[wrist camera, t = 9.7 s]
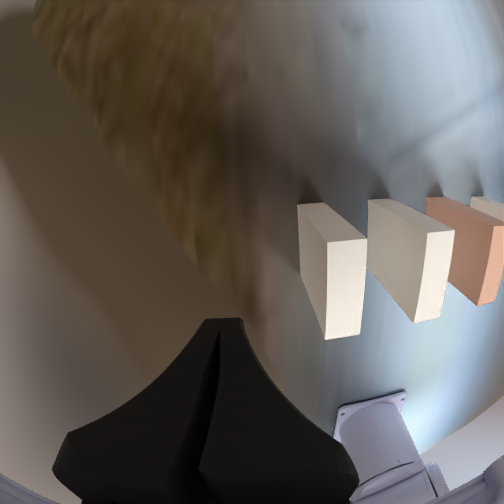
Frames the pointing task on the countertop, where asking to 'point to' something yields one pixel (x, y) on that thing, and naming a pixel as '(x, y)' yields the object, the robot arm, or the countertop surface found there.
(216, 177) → the countertop surface
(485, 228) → the domino
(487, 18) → the countertop surface
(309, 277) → the domino
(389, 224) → the domino
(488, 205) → the domino
